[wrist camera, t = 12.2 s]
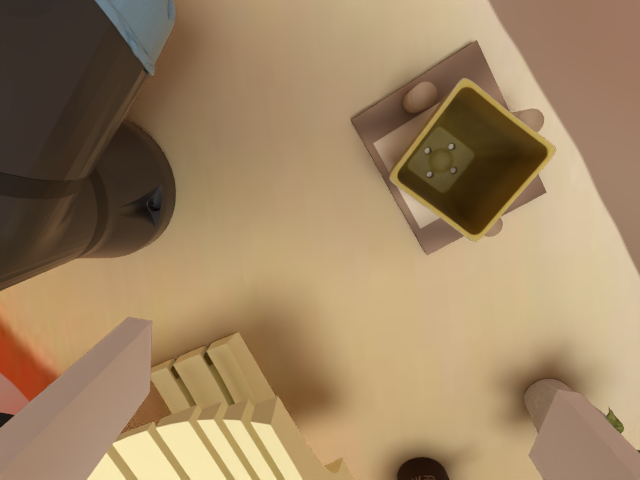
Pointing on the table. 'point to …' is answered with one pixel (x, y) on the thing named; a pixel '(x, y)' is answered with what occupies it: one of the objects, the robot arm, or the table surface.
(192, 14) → the table surface
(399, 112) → the pin board
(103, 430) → the robot arm
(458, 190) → the flower pot
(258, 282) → the table surface
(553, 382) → the house plant
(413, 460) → the coffee mug
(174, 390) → the slatted curved stool
